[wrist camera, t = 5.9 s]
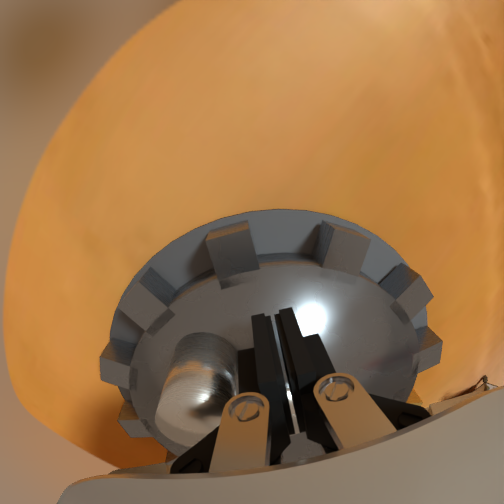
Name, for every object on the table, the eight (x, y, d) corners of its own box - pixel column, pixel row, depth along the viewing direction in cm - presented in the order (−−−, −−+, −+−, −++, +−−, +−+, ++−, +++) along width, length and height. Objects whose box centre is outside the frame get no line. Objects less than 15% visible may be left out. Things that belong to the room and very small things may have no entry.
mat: (350, 464, 21) (350, 466, 21) (118, 439, 19) (117, 441, 18) (467, 258, 15) (470, 259, 15) (125, 169, 13) (123, 169, 13)
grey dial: (460, 356, 17) (505, 405, 11) (268, 487, 21) (274, 542, 14) (286, 126, 12) (327, 94, 6) (65, 372, 16) (24, 435, 10)
